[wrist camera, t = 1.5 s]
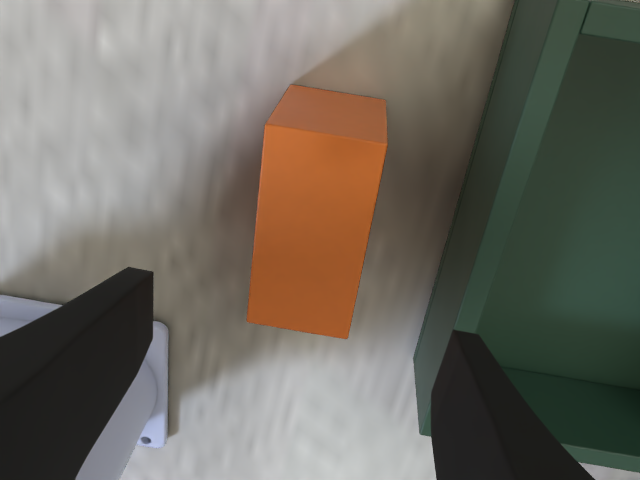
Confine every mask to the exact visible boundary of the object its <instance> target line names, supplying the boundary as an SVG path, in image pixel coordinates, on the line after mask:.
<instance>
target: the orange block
mask: <svg viewBox="0 0 640 480" xmlns="http://www.w3.org/2000/svg"><path fill="white" fill-rule="evenodd" d="M387 147H388V138H387V114H386V100H383V99H377V98H371V97H365V96H358V95H352V94H346V93H340V92H334V91H328V90H322V89H316V88H310V87H304V86H297V85H290V86H289V87H288V89H287V91H286V92H285V94H284V95H283V97H282V98H281V100H280V102H279V103H278V105H277V106H276V108H275V110H274V111H273V113H272V114H271V116H270V117H269V119H268V121H267V122H266V124H265V128H264V139H263V149H262V160H261V171H260V181H259V192H258V203H257V213H256V224H255V235H254V246H253V256H252V267H251V278H250V288H249V299H248V310H247V322H248V323H254V324H260V325H266V326H272V327H278V328H283V329H289V330H295V331H301V332H307V333H313V334H318V335H324V336H330V337H336V338H342V339H347V338H348V335H349V331H350V326H351V321H352V316H353V311H354V306H355V302H356V297H357V292H358V287H359V282H360V277H361V273H362V268H363V263H364V258H365V253H366V248H367V244H368V239H369V234H370V229H371V224H372V219H373V215H374V210H375V205H376V200H377V195H378V190H379V186H380V181H381V176H382V171H383V166H384V161H385V157H386V152H387Z"/></svg>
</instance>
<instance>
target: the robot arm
mask: <svg viewBox="0 0 640 480" xmlns="http://www.w3.org/2000/svg"><path fill="white" fill-rule="evenodd" d="M168 340H169V332H168V328H167V327H166V325H164V324H163V323H161V322H158V321H153V272H152V271H147V270H141V269H136V268H131V267H128V268H126V269H124V270H122V271H120V272H119V273H117V274H115V275H114V276H112V277H110V278H109V279H107V280H105V281H104V282H102V283H100V284H99V285H97V286H95V287H94V288H92V289H90V290H89V291H87V292H85V293H83V294H82V295H80V296H78V297H77V298H75V299H73V300H71V301H70V302H68V303H66V304H64V305H59V304H53V303H47V302H41V301H35V300H30V299H24V298H18V297H12V296H6V295H0V480H119V479H120V477H121V475H122V473H123V471H124V469H125V467H126V465H127V462H128V460H129V458H130V456H131V454H132V452H133V450H134V448H135V446H136V445H141V446H147V447H152V448H162V447H164V446H165V444H166V441H167V438H168ZM431 438H432V446H433V454H434V462H435V470H436V478H437V480H595V479H594V478H593V477H592V476H591V475H590V474H589V473H588V472H587V471H586V470H585V469H584V468H583V467H582V466H581V465H580V464H579V463H578V462H577V461H576V460H575V459H574V458H573V457H572V456H571V454H570V453H569V452H568V451H567V450H566V449H565V448H564V447H563V446H562V445H561V444H560V443H559V441H558V440H557V439H556V438H555V437H554V436H553V435H552V433H551V432H550V431H549V430H548V429H547V427H546V426H545V425H544V424H543V423H542V421H541V420H540V419H539V418H538V416H537V415H536V414H535V413H534V411H533V410H532V409H531V408H530V406H529V405H528V404H527V402H526V401H525V400H524V398H523V397H522V396H521V394H520V393H519V392H518V390H517V389H516V388H515V386H514V385H513V383H512V382H511V381H510V379H509V378H508V376H507V375H506V374H505V372H504V371H503V369H502V368H501V366H500V365H499V363H498V362H497V360H496V359H495V358H494V356H493V355H492V353H491V352H490V350H489V349H488V347H487V346H486V344H485V343H484V341H483V340H482V338H481V337H480V335H479V334H475V333H469V332H464V331H459V330H454V329H453V331H452V333H451V336H450V339H449V342H448V345H447V348H446V351H445V354H444V356H443V359H442V362H441V365H440V368H439V371H438V374H437V377H436V379H435V382H434V385H433V388H432V391H431Z"/></svg>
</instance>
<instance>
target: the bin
mask: <svg viewBox="0 0 640 480" xmlns="http://www.w3.org/2000/svg"><path fill="white" fill-rule="evenodd" d="M453 329H454V330H459V331H464V332H469V333H475V334H479V335H480V337H481V338H482V340H483V341H484V343H485V344H486V346H487V347H488V349H489V350H490V352H491V353H492V355H493V356H494V358H495V359H496V360H497V362H498V363H499V365H500V366H501V368H502V369H503V371H504V372H505V374H506V375H507V376H508V378H509V379H510V381H511V382H512V383H513V385H514V386H515V388H516V389H517V390H518V392H519V393H520V394H521V396H522V397H523V398H524V400H525V401H526V402H527V404H528V405H529V406H530V408H531V409H532V410H533V411H534V413H535V414H536V415H537V416H538V418H539V419H540V420H541V421H542V423H543V424H544V425H545V426H546V427H547V429H548V430H549V431H550V432H551V433H552V435H553V436H554V437H555V438H556V439H557V440H558V441H559V443H560V444H561V445H562V446H563V447H564V448H565V449H566V450H567V451H568V452H569V453H570V454H571V456H572V457H573V458H574V459H575V460H576V461H577V462H581V463H587V464H593V465H599V466H604V467H610V468H616V469H622V470H627V471H633V472H639V473H640V3H635V2H629V1H622V0H515V3H514V6H513V10H512V13H511V17H510V20H509V24H508V27H507V31H506V34H505V38H504V41H503V45H502V48H501V52H500V55H499V59H498V62H497V66H496V69H495V73H494V76H493V80H492V83H491V87H490V90H489V94H488V97H487V101H486V104H485V108H484V111H483V115H482V118H481V122H480V126H479V129H478V133H477V136H476V140H475V143H474V147H473V150H472V154H471V157H470V161H469V164H468V168H467V171H466V175H465V178H464V182H463V185H462V189H461V192H460V196H459V199H458V203H457V206H456V210H455V213H454V217H453V220H452V224H451V227H450V231H449V234H448V238H447V241H446V245H445V248H444V252H443V255H442V259H441V262H440V266H439V270H438V273H437V277H436V280H435V284H434V287H433V291H432V294H431V298H430V301H429V305H428V308H427V312H426V315H425V319H424V322H423V326H422V329H421V333H420V336H419V340H418V343H417V347H416V350H415V354H414V357H413V361H414V372H415V384H416V397H417V409H418V421H419V433H420V435H425V436H431V391H432V388H433V385H434V382H435V379H436V377H437V374H438V371H439V368H440V365H441V362H442V359H443V356H444V354H445V351H446V348H447V345H448V342H449V339H450V336H451V333H452V331H453Z"/></svg>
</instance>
